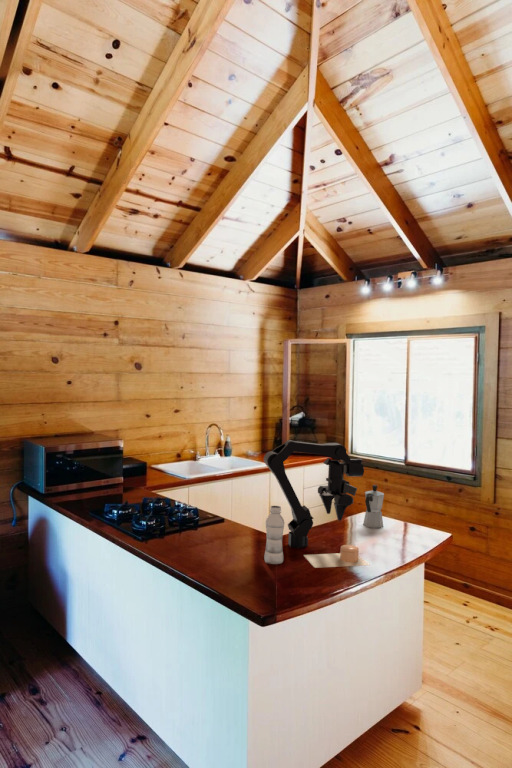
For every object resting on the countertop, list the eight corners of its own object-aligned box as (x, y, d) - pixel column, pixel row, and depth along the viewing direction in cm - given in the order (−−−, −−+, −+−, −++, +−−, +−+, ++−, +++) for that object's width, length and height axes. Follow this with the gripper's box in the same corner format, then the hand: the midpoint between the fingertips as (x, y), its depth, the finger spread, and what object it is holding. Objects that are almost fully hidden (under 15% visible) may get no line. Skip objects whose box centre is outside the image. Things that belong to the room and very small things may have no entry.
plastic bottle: (277, 570, 168) (279, 510, 167) (260, 565, 171) (262, 507, 171) (286, 564, 173) (288, 506, 173) (269, 559, 177) (272, 503, 176)
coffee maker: (369, 520, 231) (371, 481, 231) (387, 524, 226) (389, 484, 226) (355, 527, 219) (357, 486, 219) (375, 531, 214) (376, 490, 214)
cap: (361, 559, 176) (362, 548, 176) (350, 563, 172) (351, 552, 172) (347, 554, 181) (348, 543, 181) (336, 558, 176) (337, 547, 176)
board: (314, 572, 167) (315, 558, 167) (303, 559, 179) (303, 545, 179) (369, 569, 172) (370, 555, 172) (355, 556, 183) (355, 543, 183)
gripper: (367, 481, 185) (365, 523, 185) (343, 471, 202) (341, 509, 203) (339, 481, 181) (337, 524, 182) (318, 471, 199) (316, 510, 199)
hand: (333, 517), depth 191 cm, fingers open, 9 cm apart
